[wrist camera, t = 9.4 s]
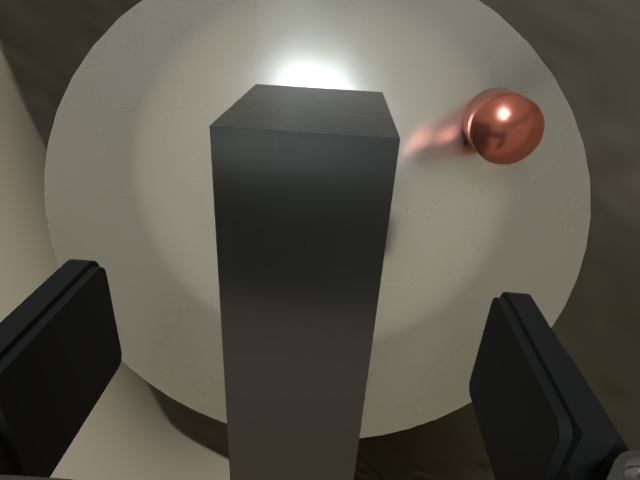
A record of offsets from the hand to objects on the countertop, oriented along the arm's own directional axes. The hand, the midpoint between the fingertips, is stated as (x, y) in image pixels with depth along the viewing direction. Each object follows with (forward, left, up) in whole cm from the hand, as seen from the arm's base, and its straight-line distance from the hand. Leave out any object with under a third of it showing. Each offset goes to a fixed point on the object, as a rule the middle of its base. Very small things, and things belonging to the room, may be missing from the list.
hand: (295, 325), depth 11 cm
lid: (0, 0, -4) cm, 4 cm away
